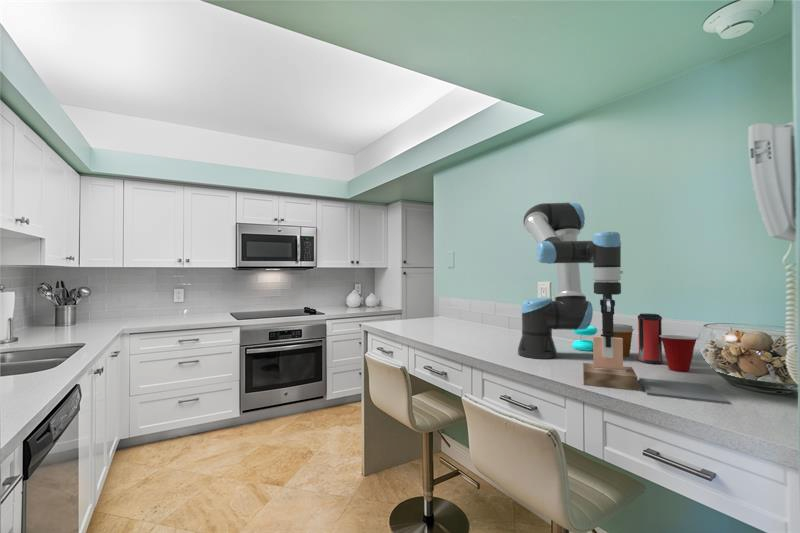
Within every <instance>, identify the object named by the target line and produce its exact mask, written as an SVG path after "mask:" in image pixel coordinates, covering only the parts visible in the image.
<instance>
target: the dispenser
mask: <svg viewBox="0 0 800 533" xmlns="http://www.w3.org/2000/svg"><path fill="white" fill-rule="evenodd" d="M582 369H583V370H582V371H583V373H582V374H583V379H582V380H583V386H584V385H585V386H591V387H601V388H609V389H616V390H617V389H619V390H626V391H635V390H636V391H638V376H637V374H636V372H635V370H634V368H633V367H632V366H625V365H623V370H612V369H601V368H594V363H589V362H582Z"/></svg>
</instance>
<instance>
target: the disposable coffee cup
mask: <svg viewBox="0 0 800 533" xmlns="http://www.w3.org/2000/svg"><path fill="white" fill-rule="evenodd" d="M634 330H635V328H633V325H630V324H629V325H628V324H621V323H620V324H619V323H616V324H615V323H613V333H614V335H613V338H623V358H624V357H629V356H630V353H631V346H632V338H633V332H634Z"/></svg>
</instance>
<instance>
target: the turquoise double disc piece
mask: <svg viewBox="0 0 800 533" xmlns="http://www.w3.org/2000/svg"><path fill="white" fill-rule="evenodd" d="M571 331H572V332H573V333H574V335H575V334H576V335H579V336H586V337H587V336H595V335H596V334H597V332H598V328H597V327H595V326H593V325H589V327H588V328H587V329H583V330H571ZM572 348H573V349H575V350H578V351H582V350H583V352H584V351H585V352H593V340H587V339H577V340H575V341H573V342H572Z"/></svg>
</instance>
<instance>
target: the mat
mask: <svg viewBox="0 0 800 533" xmlns="http://www.w3.org/2000/svg"><path fill="white" fill-rule="evenodd" d="M638 380H639V382H640V384H641V385H642V388H643V389H644V391H645V394H646V395H647V396H655V397H662V398H673V399H679V400H681V399H682V400H689V401H690V400H691V401H699V402H707V403H715V402H717V403H718V404H724V403H728V404H727V405H730V401H729V400H728V399H727V398H726V397H725V396H723V395H722V394H721V393H720V392H719V391H718V390H717V389H716V388H714V387H713V385H711V384H709V383H708V384H706V383H697V382H696V383H695V382H687V381H676V380H665V379H658V378H657V379H656V378H646V377H638Z"/></svg>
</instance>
